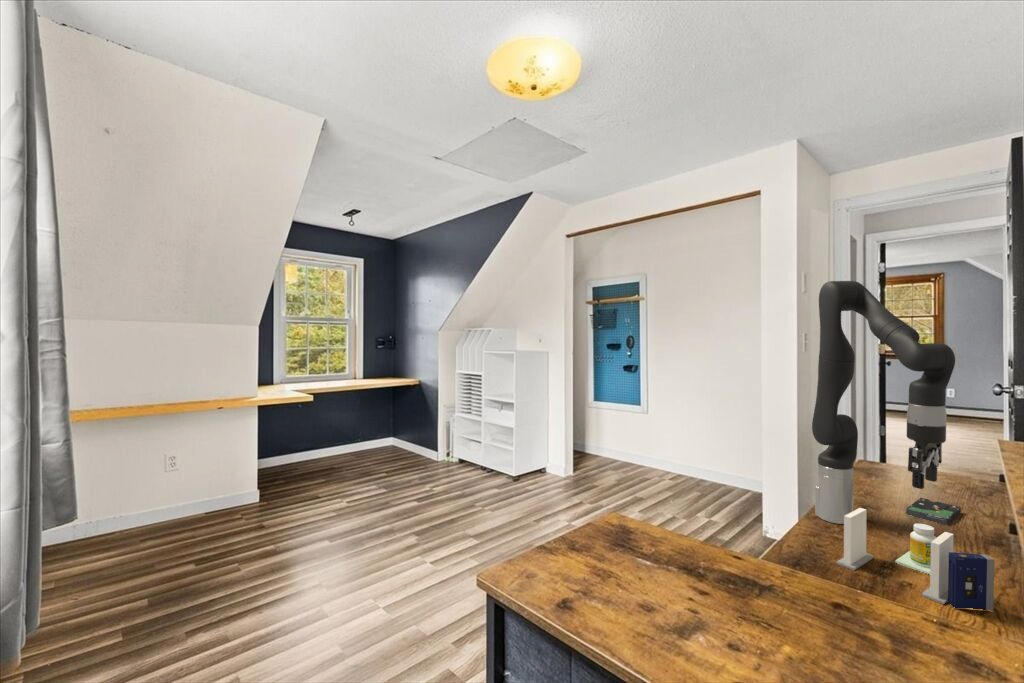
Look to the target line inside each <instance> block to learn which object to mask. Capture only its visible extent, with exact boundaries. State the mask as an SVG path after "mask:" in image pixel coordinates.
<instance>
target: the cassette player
mask: <svg viewBox="0 0 1024 683" xmlns="http://www.w3.org/2000/svg"><path fill="white" fill-rule="evenodd" d="M995 561H996V560H995V559H994V558H993V557H992V556H988V555H987V554H983V553H970V552H969V553H967V552H954V551H953V552H949V567H948V602H947V604H949V605H950V604H951V605H952V606H953V607H955V608H973V609H983V610H991V611H993V612H994V604H995V602H994V601H995V600H994V598H995V597H994V596H995V595H994V594H995V593H994V592H995V564H996V563H995ZM951 605H950V606H951ZM952 606H951V607H952ZM953 607H952V608H953ZM955 608H954V609H955Z"/></svg>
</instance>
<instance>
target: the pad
mask: <svg viewBox="0 0 1024 683" xmlns="http://www.w3.org/2000/svg"><path fill="white" fill-rule="evenodd" d="M894 563H895V564H896V563H897V565H899V566H903V567H905V568H908V569H911V570H914V571H916V570H918V571H917V572H919V571H920V572H919V573H922V572H924V573H923V574H925V573H927V574H926V575H928V574H929V575H928V576H930V568H928V567H923V566H920V565H917V564H915V563H913V562H912V561H911V559H910V550H908V551H907V552H906V553H904V554H903V555H901V556H900V557H898V558H897V559H896V560H895V561H894Z"/></svg>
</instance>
